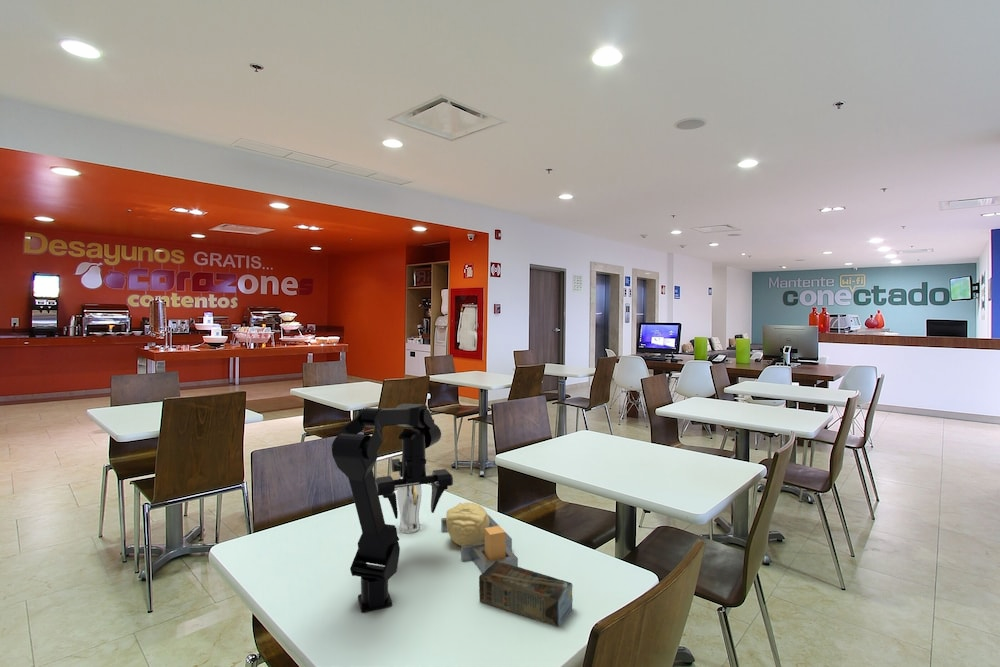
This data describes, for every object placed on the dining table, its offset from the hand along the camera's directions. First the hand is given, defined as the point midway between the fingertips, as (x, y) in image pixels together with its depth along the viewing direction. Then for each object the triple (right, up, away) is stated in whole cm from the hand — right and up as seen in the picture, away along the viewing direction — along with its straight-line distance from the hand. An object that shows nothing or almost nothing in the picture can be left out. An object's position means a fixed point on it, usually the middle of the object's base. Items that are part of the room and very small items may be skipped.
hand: (414, 515), depth 126 cm
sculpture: (+13, -12, +12) cm, 21 cm away
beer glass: (-5, -12, +20) cm, 24 cm away
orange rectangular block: (+20, -12, -1) cm, 24 cm away
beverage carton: (+27, -13, -18) cm, 35 cm away
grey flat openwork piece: (+16, -12, +8) cm, 22 cm away
